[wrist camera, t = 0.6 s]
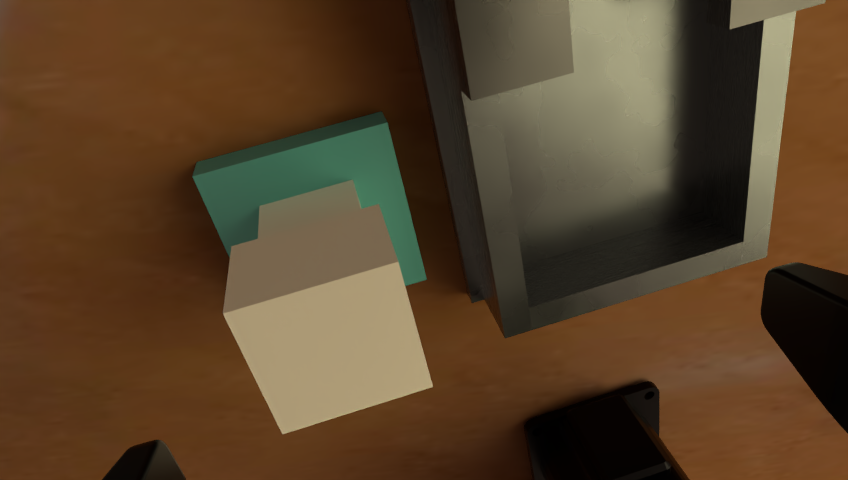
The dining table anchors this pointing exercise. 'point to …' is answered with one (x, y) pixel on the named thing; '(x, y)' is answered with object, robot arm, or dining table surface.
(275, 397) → the slider
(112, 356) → the dining table surface
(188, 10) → the dining table surface
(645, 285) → the keyhole guide
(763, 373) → the dining table surface
